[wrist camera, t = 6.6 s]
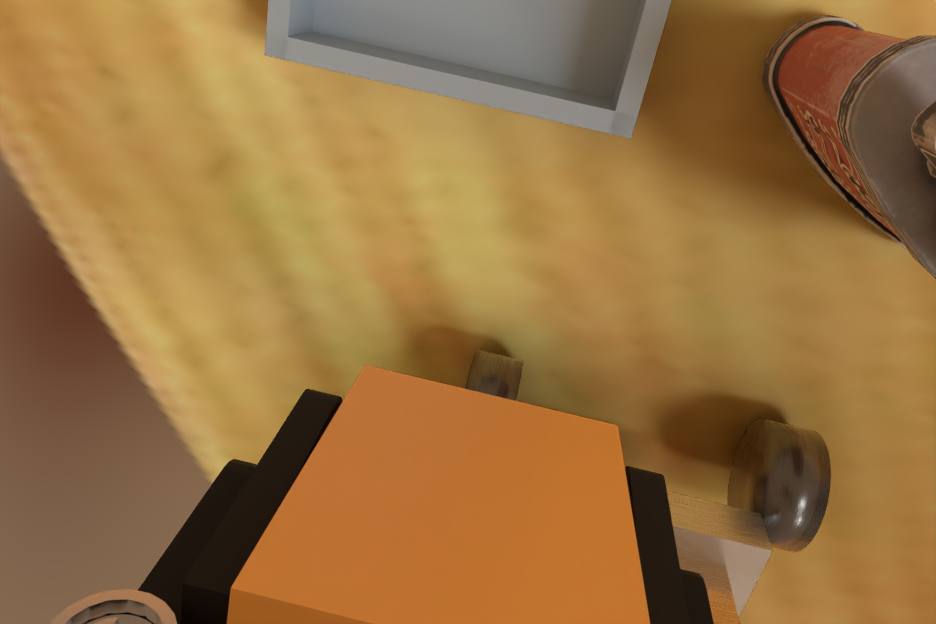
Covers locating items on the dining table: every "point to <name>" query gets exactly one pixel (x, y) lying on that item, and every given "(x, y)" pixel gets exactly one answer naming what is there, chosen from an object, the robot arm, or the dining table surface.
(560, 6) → the tray
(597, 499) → the orange cube-like block
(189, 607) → the robot arm
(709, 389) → the dining table surface
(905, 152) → the lighter
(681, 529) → the trolley
